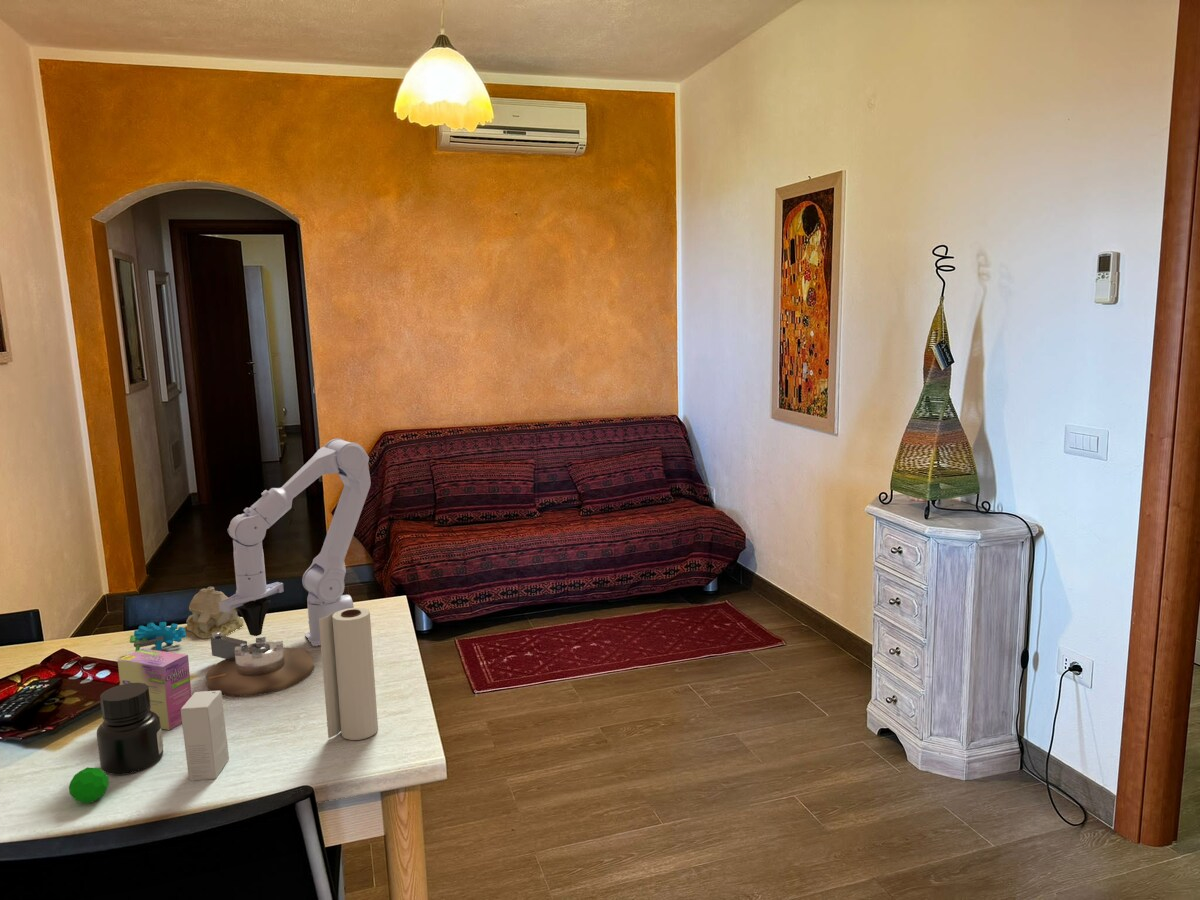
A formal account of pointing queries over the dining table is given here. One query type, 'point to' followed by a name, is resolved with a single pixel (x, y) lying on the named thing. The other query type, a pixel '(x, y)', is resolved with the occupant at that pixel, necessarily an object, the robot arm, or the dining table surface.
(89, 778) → the polyhedron
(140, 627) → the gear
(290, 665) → the nut base plate
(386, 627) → the dining table surface
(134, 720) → the ink bottle
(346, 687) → the paper towel roll
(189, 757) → the skincare box
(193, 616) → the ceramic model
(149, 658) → the box
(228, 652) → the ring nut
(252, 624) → the robot arm
